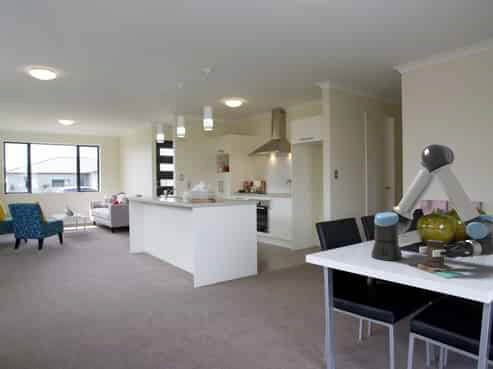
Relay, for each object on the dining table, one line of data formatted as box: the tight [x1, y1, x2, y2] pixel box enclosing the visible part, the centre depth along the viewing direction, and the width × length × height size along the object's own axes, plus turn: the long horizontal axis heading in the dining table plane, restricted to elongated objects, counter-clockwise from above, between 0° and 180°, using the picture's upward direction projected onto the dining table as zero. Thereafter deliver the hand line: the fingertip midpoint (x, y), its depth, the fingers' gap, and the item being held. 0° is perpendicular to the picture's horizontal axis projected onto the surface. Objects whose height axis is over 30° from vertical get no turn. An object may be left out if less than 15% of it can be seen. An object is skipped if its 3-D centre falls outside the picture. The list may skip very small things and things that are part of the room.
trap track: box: [408, 262, 454, 274], centre depth 159 cm, size 15×11×2 cm
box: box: [426, 239, 445, 270], centre depth 156 cm, size 6×4×12 cm
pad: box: [432, 270, 469, 279], centre depth 148 cm, size 8×11×1 cm
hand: (426, 251), depth 155 cm, fingers closed on box, 7 cm apart
